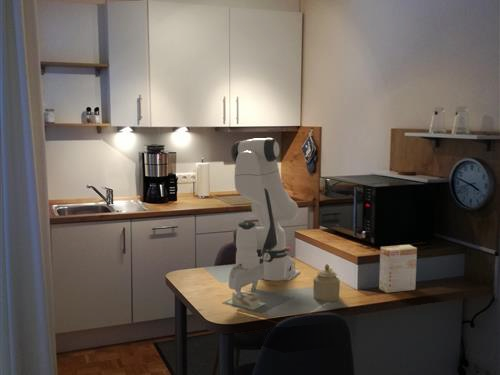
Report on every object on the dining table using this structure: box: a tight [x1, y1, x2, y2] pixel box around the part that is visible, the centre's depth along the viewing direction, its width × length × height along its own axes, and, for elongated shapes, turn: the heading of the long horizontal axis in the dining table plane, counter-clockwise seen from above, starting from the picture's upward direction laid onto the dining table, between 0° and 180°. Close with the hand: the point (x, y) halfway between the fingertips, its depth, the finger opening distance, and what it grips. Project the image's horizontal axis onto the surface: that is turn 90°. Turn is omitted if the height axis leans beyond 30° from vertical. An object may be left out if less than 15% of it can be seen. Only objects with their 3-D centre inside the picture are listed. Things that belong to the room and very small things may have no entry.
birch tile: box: [231, 289, 259, 307], centre depth 236 cm, size 10×5×4 cm, turn 54°
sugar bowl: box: [312, 264, 341, 303], centre depth 246 cm, size 15×11×15 cm
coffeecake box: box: [378, 244, 418, 294], centre depth 257 cm, size 15×7×20 cm, turn 108°
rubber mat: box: [222, 288, 294, 314], centre depth 240 cm, size 24×20×1 cm
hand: (246, 294), depth 235 cm, fingers open, 8 cm apart
